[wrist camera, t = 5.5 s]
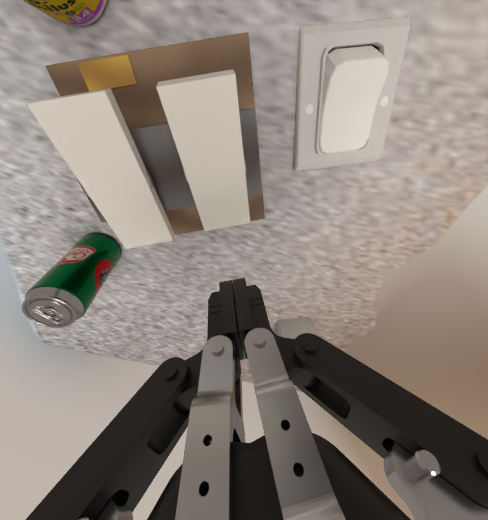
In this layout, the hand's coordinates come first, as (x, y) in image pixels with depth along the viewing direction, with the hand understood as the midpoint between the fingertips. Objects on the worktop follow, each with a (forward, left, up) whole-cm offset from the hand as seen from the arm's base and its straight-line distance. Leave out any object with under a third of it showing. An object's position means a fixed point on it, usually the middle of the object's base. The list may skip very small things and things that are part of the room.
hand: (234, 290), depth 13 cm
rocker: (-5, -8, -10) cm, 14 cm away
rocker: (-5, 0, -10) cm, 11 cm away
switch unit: (-5, -4, -19) cm, 20 cm away
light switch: (-7, +15, -19) cm, 26 cm away
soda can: (+5, -18, -19) cm, 26 cm away
